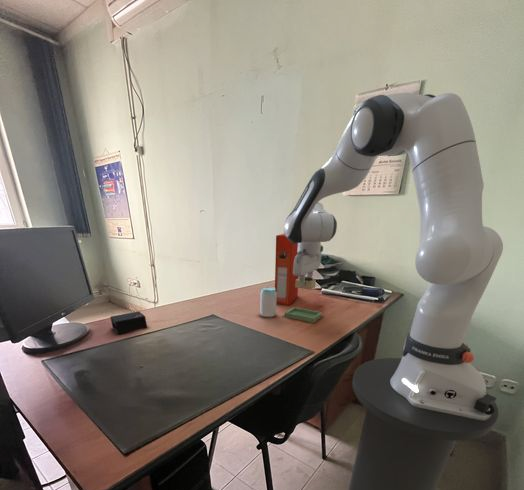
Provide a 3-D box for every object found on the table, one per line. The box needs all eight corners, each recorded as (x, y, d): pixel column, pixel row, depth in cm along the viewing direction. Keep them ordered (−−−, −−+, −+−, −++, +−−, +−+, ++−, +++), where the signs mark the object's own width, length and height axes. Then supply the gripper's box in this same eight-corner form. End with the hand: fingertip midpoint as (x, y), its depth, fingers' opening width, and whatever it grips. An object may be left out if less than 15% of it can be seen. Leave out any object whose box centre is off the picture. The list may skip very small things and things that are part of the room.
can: (277, 317, 124) (278, 290, 118) (261, 318, 123) (261, 290, 118) (274, 312, 130) (275, 286, 125) (259, 312, 129) (259, 286, 124)
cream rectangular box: (315, 287, 120) (316, 277, 118) (310, 289, 116) (311, 280, 114) (299, 285, 123) (300, 275, 121) (295, 287, 119) (295, 277, 117)
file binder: (273, 303, 142) (276, 235, 128) (283, 295, 157) (286, 232, 143) (289, 305, 140) (293, 235, 126) (297, 296, 154) (301, 233, 140)
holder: (321, 316, 126) (322, 312, 125) (313, 323, 119) (314, 318, 118) (293, 311, 132) (294, 307, 131) (284, 316, 125) (284, 312, 124)
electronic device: (112, 328, 110) (110, 316, 107) (141, 322, 116) (138, 311, 113) (118, 334, 104) (115, 322, 102) (147, 328, 110) (145, 316, 108)
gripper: (305, 252, 103) (302, 289, 109) (324, 246, 119) (321, 279, 125) (290, 250, 106) (287, 287, 112) (310, 245, 122) (307, 278, 128)
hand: (305, 283), depth 119 cm, fingers closed on cream rectangular box, 5 cm apart
